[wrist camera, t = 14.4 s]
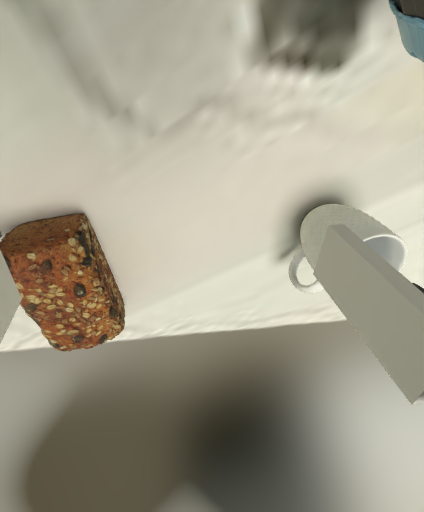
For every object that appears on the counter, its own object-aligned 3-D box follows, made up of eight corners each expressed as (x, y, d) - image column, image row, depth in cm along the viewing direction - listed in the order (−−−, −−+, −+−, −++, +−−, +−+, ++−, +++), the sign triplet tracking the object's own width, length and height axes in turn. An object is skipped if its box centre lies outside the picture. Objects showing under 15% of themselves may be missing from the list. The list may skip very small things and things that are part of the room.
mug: (296, 274, 54) (332, 327, 44) (258, 245, 49) (289, 298, 38) (362, 216, 50) (421, 261, 39) (328, 177, 44) (386, 217, 34)
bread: (10, 221, 39) (-24, 266, 31) (91, 207, 40) (78, 247, 32) (66, 316, 50) (51, 367, 42) (128, 303, 51) (125, 350, 43)
